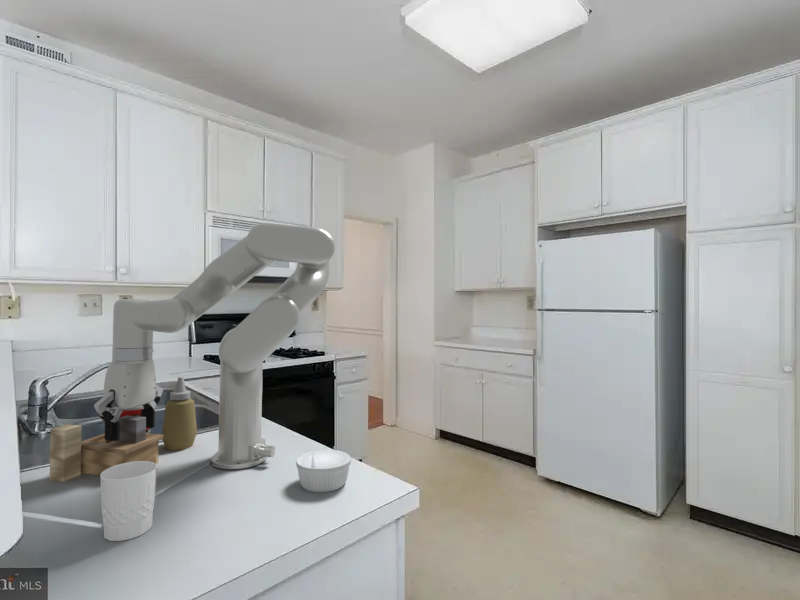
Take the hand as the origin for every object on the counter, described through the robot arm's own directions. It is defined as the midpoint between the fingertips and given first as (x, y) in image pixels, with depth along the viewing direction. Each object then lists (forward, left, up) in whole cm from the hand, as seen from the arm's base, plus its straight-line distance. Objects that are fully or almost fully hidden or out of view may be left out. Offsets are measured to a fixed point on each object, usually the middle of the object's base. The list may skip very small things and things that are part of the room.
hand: (130, 433), depth 94 cm
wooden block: (+9, +7, -8) cm, 14 cm away
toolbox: (+3, 0, -8) cm, 9 cm away
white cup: (-19, +20, -9) cm, 29 cm away
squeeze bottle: (0, -15, -9) cm, 17 cm away
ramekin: (-43, -5, -9) cm, 44 cm away
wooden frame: (+3, 0, -2) cm, 4 cm away
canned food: (+12, -13, -9) cm, 20 cm away
